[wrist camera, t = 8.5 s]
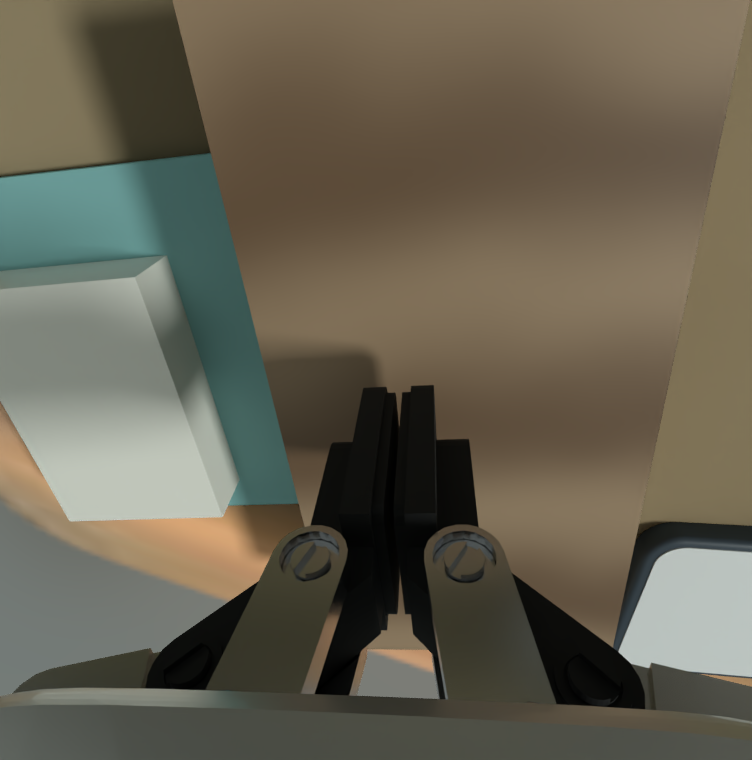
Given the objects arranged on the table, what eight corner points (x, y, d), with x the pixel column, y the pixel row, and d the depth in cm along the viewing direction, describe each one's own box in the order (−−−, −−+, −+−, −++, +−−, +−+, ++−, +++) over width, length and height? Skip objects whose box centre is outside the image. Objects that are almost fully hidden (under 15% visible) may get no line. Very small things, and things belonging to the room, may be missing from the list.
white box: (135, 277, 14) (166, 255, 15) (-61, 294, 14) (-11, 271, 16) (222, 517, 18) (239, 479, 20) (69, 521, 19) (98, 484, 21)
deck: (238, 14, 13) (170, -10, 9) (665, -49, 11) (771, -103, 8) (347, 562, 23) (334, 648, 19) (581, 559, 21) (612, 651, 18)
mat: (-35, 181, 15) (-46, 183, 15) (254, 148, 14) (250, 149, 14) (121, 501, 22) (116, 508, 21) (327, 495, 21) (325, 502, 20)
